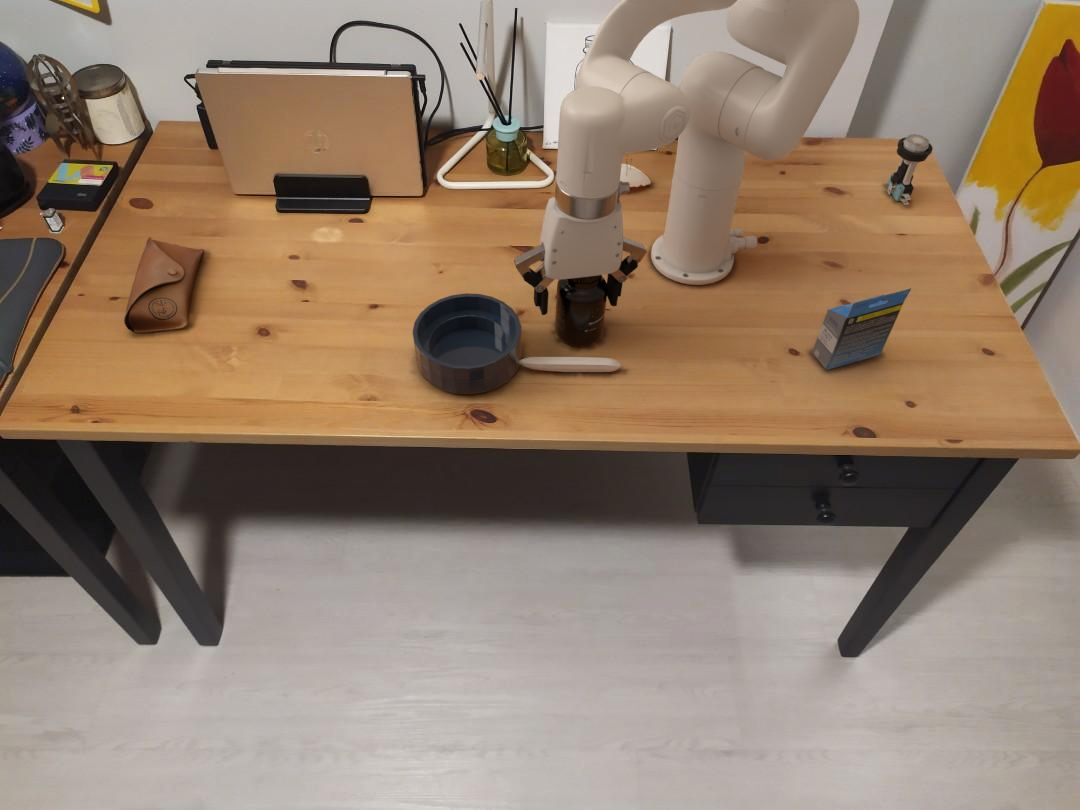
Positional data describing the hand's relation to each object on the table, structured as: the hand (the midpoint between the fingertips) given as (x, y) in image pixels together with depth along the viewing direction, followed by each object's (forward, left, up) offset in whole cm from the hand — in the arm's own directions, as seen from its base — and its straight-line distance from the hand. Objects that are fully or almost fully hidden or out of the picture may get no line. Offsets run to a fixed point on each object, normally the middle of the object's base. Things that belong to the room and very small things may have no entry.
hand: (576, 304), depth 110 cm
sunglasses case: (+56, -21, -6) cm, 60 cm away
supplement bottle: (-1, 0, -6) cm, 6 cm away
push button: (-62, -21, -6) cm, 66 cm away
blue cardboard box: (-36, +12, -6) cm, 38 cm away
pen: (+1, -3, -2) cm, 4 cm away
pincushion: (-16, -34, -6) cm, 38 cm away
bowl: (+15, +2, -6) cm, 16 cm away
